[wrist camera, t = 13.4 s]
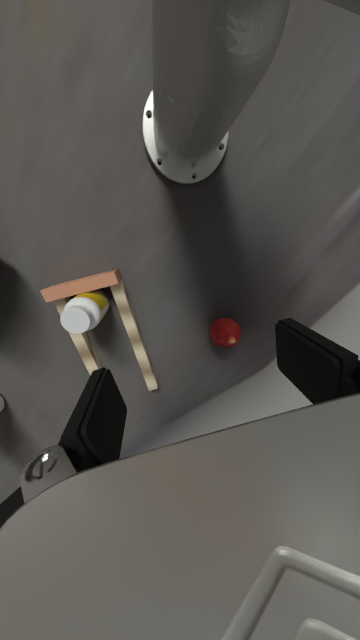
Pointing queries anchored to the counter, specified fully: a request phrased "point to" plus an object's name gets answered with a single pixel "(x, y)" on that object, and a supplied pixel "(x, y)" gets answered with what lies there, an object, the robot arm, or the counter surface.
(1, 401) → the bath foam
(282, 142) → the counter surface
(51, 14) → the counter surface
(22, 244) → the counter surface
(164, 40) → the robot arm
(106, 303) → the supplement bottle
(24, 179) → the counter surface
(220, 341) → the onion
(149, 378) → the wooden u-shaped frame
